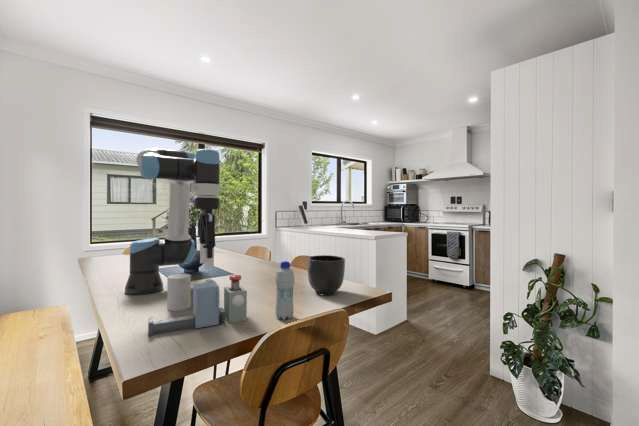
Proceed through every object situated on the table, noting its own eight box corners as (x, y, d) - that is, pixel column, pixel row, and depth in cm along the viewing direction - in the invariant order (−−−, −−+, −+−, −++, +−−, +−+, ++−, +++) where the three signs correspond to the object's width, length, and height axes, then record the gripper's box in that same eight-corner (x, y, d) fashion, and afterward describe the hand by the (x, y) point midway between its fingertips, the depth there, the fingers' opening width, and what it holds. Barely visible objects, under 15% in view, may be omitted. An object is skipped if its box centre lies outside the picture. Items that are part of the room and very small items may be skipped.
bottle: (275, 314, 112) (276, 259, 111) (293, 314, 112) (294, 259, 112) (274, 321, 105) (275, 263, 105) (293, 320, 106) (294, 263, 105)
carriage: (192, 320, 104) (193, 283, 103) (214, 317, 107) (214, 281, 107) (196, 329, 96) (196, 289, 96) (219, 325, 100) (219, 286, 100)
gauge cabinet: (223, 314, 110) (224, 287, 110) (240, 312, 113) (240, 285, 113) (229, 322, 103) (229, 293, 103) (246, 319, 106) (247, 291, 106)
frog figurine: (215, 295, 134) (215, 279, 134) (198, 297, 131) (198, 281, 131) (213, 292, 139) (214, 276, 139) (197, 293, 136) (197, 278, 136)
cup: (181, 311, 113) (181, 279, 113) (162, 309, 115) (162, 277, 114) (194, 304, 121) (195, 274, 121) (176, 303, 123) (176, 273, 122)
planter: (352, 294, 139) (352, 259, 139) (320, 300, 129) (321, 262, 129) (329, 286, 153) (330, 254, 153) (300, 291, 143) (300, 256, 143)
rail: (148, 330, 96) (148, 317, 96) (222, 318, 107) (222, 307, 107) (148, 336, 91) (148, 322, 91) (225, 323, 102) (225, 311, 102)
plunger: (228, 298, 109) (228, 275, 109) (239, 296, 111) (239, 274, 111) (230, 301, 105) (230, 278, 105) (242, 299, 107) (242, 276, 107)
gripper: (191, 197, 109) (190, 260, 109) (199, 196, 90) (199, 272, 90) (213, 198, 112) (212, 259, 113) (226, 196, 93) (225, 270, 94)
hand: (206, 265), depth 101 cm, fingers open, 9 cm apart
